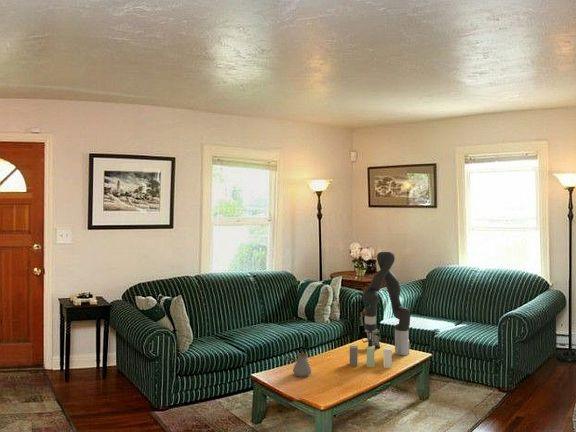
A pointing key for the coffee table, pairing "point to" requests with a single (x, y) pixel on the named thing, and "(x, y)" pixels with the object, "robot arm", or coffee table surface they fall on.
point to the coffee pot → (301, 365)
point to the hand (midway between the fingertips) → (369, 348)
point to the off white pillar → (387, 357)
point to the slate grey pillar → (353, 355)
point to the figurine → (374, 339)
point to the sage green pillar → (370, 356)
